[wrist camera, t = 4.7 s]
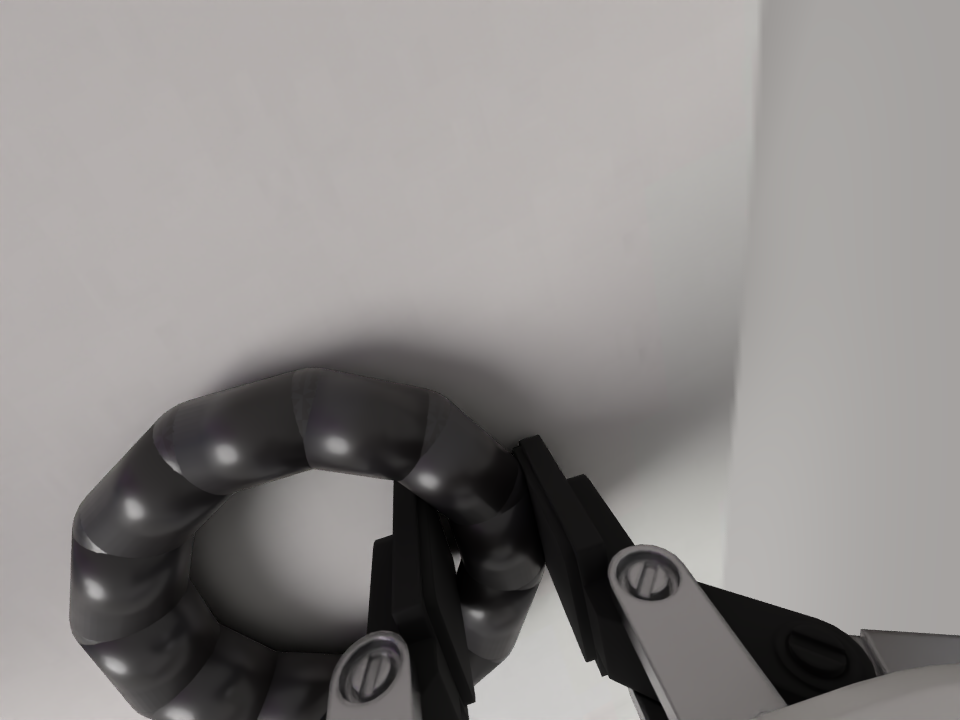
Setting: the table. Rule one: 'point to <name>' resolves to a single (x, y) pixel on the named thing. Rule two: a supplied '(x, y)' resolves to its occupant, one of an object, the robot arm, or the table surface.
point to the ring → (258, 460)
